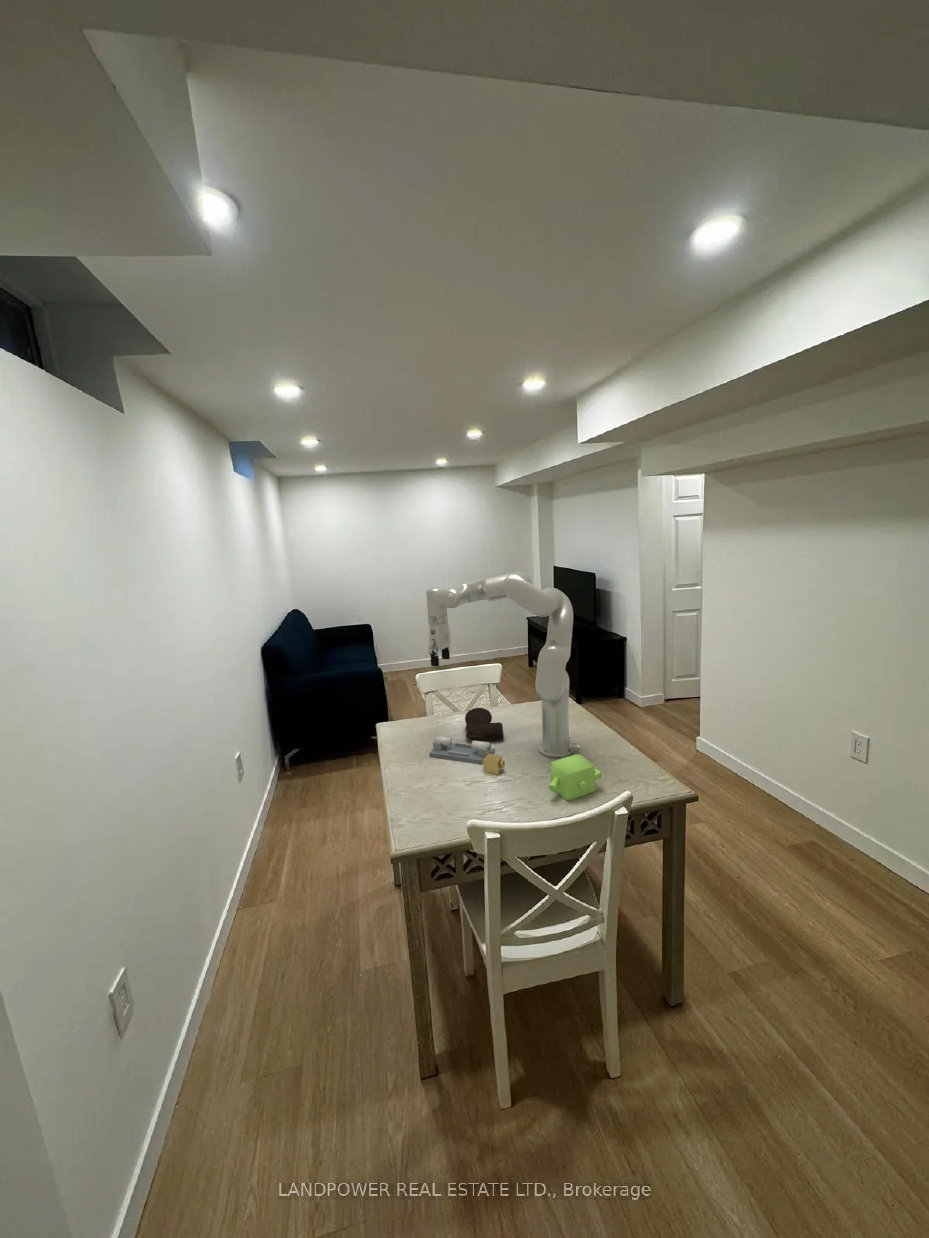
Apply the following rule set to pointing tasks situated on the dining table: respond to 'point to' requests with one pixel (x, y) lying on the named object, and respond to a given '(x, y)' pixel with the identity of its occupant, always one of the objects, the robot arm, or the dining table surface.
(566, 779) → the gearbox
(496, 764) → the coupler
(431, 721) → the dining table surface
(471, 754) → the grey fixture base
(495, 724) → the dark brown l-shaped piece
